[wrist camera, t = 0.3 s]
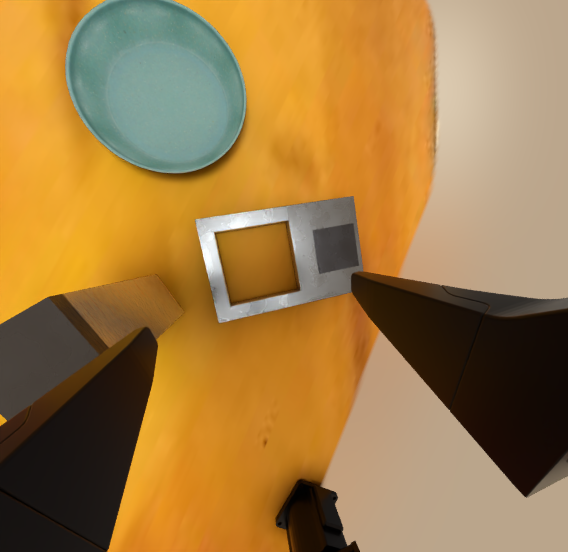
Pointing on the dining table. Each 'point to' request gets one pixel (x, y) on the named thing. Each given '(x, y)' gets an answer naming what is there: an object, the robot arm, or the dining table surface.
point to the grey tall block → (75, 334)
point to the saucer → (156, 84)
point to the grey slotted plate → (304, 249)
